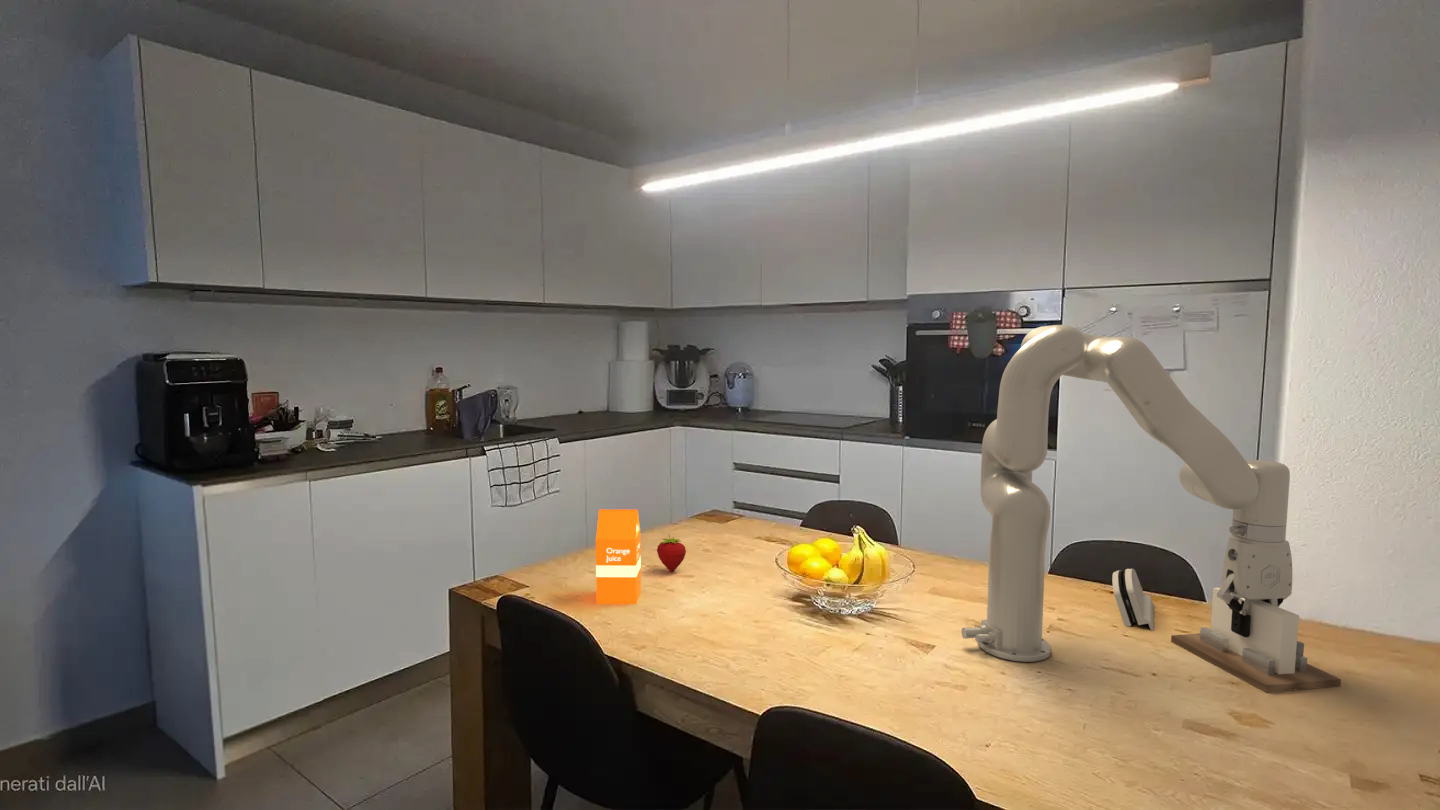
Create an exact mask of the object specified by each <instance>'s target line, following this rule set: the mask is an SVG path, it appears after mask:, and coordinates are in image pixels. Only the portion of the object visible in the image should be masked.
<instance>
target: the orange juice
mask: <svg viewBox="0 0 1440 810" xmlns="http://www.w3.org/2000/svg"><path fill="white" fill-rule="evenodd" d="M596 527H597V528H596V537H595V577H596V579H595V580H596V582H595V583H596V605H637V604H638V601H639V598H640V595H641V593H642V573H641V572H642V565H641V564H642V559H641V558H642V557H641V551H642V550H641V526H640V517H639V510H638V509H598V519H597V526H596Z"/></svg>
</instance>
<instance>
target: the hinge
mask: <svg viewBox="0 0 1440 810" xmlns="http://www.w3.org/2000/svg"><path fill="white" fill-rule="evenodd" d="M1111 579H1112V583H1111V584H1112V591H1113V595H1114V598H1115V601H1116V605H1117V608H1118V611H1119V613H1120V616H1121V619H1122V622H1123V625H1124V627H1132V625H1134V624H1136V625H1138V626H1141V625H1147V624H1148V626H1149V629H1150V631H1155V618H1154V617H1155V616H1154V615H1155V614H1154V613H1155V612H1154V609H1155V607H1154V606H1155V605H1154V602H1153V599H1152V597H1151V595H1148V594H1145V593H1144V591H1143V588H1142V585H1141V582H1140V580H1139V578H1138V575H1137V572H1136V570H1135V569H1134V568H1126V569H1125V570H1121V569H1118V570H1116V571H1113V573H1112V578H1111Z"/></svg>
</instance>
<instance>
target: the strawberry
mask: <svg viewBox="0 0 1440 810" xmlns="http://www.w3.org/2000/svg"><path fill="white" fill-rule="evenodd" d="M668 537H669V538H663V541H660V542H659V544H658V545H657V548H656V552H657V556H658V558H659V560H660V561H661V563H662V564H663V565H664V566H665V567H666V569H667V571H669V572H670V571H671V573H673V572H675V571H676V569H677V568H678V567H679V566H680V565H681V563H682V562H683V561H684V559H685V557H686V553H687V550H686V546H685V545H684V544H683V543H681V539H680V538H675V537H670V535H668Z"/></svg>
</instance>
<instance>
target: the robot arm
mask: <svg viewBox="0 0 1440 810" xmlns="http://www.w3.org/2000/svg"><path fill="white" fill-rule="evenodd" d="M1062 376H1067V377H1072V378H1075V379H1076V378H1077V379H1083V380H1089V381H1095V382H1103V383H1107V384H1108V385H1109V387H1110V388H1111V389H1112V391H1113V392H1114V393H1115V395H1116V396H1117V397H1118V398H1119V399H1120V401H1121V403H1122V404H1123V405H1124V406H1125V408H1126V409H1127V410H1128V412H1129V413H1130V415H1131V416H1132V417H1133V418H1134V420H1135V422H1136V423H1137V424H1138V425H1139V427H1140V429H1142V430H1143V431H1144V432H1146V433H1147V435H1149V436H1150V437H1152V438H1153V439H1154V440H1156V441H1158V442H1159V443H1160V444H1162V445H1164V446H1166V447H1167V448H1168V449H1169V450H1171V451H1172V452H1173V453H1174V454H1176V455H1177V456H1178V457H1179V458H1180V459H1181V460H1182V461H1183V462H1184V464H1183V465H1182V467H1181V469H1180V470H1179V476H1178V477H1179V478H1178V479H1179V482H1180V484H1181V486H1182V487H1183V489H1184V490H1185V491H1186V492H1188V493H1189V494H1190V495H1192V496H1194V497H1195V498H1199V499H1200V500H1202V501H1205V502H1209V503H1211V504H1213V505H1216V506H1217V507H1221V509H1222V508H1223V509H1225V510H1226V509H1227V510H1232V520H1231V521H1232V522H1231V526H1229V529H1228V530H1229V533H1230V534H1231V537H1229V539H1228V541H1227V545H1226V548H1225V553H1224V558H1223V564H1222V572H1221V573H1222V575H1221V586H1220V587H1221V588H1220V589H1219V591H1218V593H1217V597H1218V598H1220V599H1221V600H1223V601H1225V603H1226V604H1227V605H1228V606H1229V609H1230V610H1232V620H1231V631H1232V632H1234V633H1236V634H1239V635H1241V636H1243V637H1249V636H1250V622H1251V617H1250V615H1248V614H1247V613H1248V610H1249V606H1250V601H1251V600H1262V601H1264V602H1267V603H1269V604H1272V605H1274V606H1277V607H1279V608H1280V606H1281V605H1282V603H1283V602H1284V601H1285V600H1286V599H1288V597H1290V596H1291V595H1292V592H1293V558H1292V557H1293V556H1292V552H1291V551H1292V550H1291V546H1290V542H1289V541H1288V540H1286V539H1287V525H1288V524H1287V523H1288V521H1287V520H1288V510H1289V509H1288V507H1289V496H1290V495H1289V494H1290V481H1291V479H1290V477H1291V472H1290V468H1289V467H1288V466H1287V465H1286V464H1284V463H1281V462H1277V461H1273V460H1262V459H1245V458H1244V457H1243V455H1242V453H1241V452H1240V451H1239V450H1238V448H1236V446H1235V445H1234V444H1233V442H1232V441H1231V440H1230V439H1229V438H1228V437H1227V436H1226V435H1225V434H1224V433H1223V432H1222V431H1221V430H1220V429H1219V428H1218V427H1216V425H1214V424H1213V423H1212V422H1211V421H1210V420H1209V419H1208V418H1207V417H1206V416H1205V415H1204V414H1203V413H1202V412H1201V411H1200V410H1199V409H1198V408H1196V407H1195V406H1194V405H1193V404H1192V403H1191V402H1190V401H1189V399H1188V398H1187V397H1186V396H1185V395H1184V393H1183V392H1182V391H1181V389H1180V388H1179V386H1178V385H1177V384H1176V383H1175V381H1174V380H1173V379H1172V377H1171V376H1170V375H1169V373H1168V372H1167V371H1166V369H1165V367H1163V365H1162V364H1161V363H1160V361H1159V360H1158V359H1157V357H1156V356H1155V354H1154V353H1153V352H1152V350H1151V349H1150V347H1148V346H1147V345H1146V343H1144V342H1143V341H1141V340H1140V339H1138V338H1135V337H1133V336H1132V337H1131V336H1106V335H1104V336H1103V335H1096V334H1090V333H1089V334H1088V333H1083V332H1081V331H1080V330H1079V329H1077V328H1075V327H1074V326H1071V325H1066V324H1053V325H1045V326H1039V327H1036V328H1034V329H1031V330H1030V331H1029V332H1028V333H1026V335H1025V336H1024V338H1023V339H1022V342H1021V344H1020V348H1019V349H1018V350H1017V351H1016V352H1015V353H1014V355H1013V356H1012V357H1011V358H1010V360H1009V362H1008V363H1007V365H1006V367H1005V368H1004V371H1003V373H1002V376H1001V380H1000V384H999V393H998V400H997V401H998V402H997V403H998V404H997V412H996V413H997V415H996V419H994V420H993V421H991V423H990V424H989V425H988V426H987V427H986V430H985V432H984V434H983V438H982V443H981V444H982V446H981V460H980V461H981V463H980V464H981V465H980V467H981V468H980V496H981V498H980V499H981V502H982V505H983V506H984V508H985V509H986V510H987V512H988V513H989V515H991V520H992V521H991V530H990V535H989V536H990V537H989V545H988V575H987V578H988V579H987V607H986V611H987V612H986V619H981V621H980V622H981V623H980V624H979V625H977V626H976V627H972V626H971V627H962V628H961V636H962V638H963V639H974V640H975V643H977V645H978V646H979V648H980V649H982V650H983V651H985V652H986V653H987V654H990V655H992V656H993V657H997V658H1000V659H1004V660H1008V661H1014V662H1023V663H1031V662H1039V661H1043V660H1046V659H1048V658H1049V657H1050V655H1051V652H1052V647H1051V646H1052V645H1050V643H1049V642H1048V641H1047V640H1046V639H1044V638H1043V619H1044V617H1043V615H1044V596H1045V595H1044V594H1045V593H1044V592H1045V591H1044V590H1045V563H1046V549H1047V548H1046V546H1047V539H1048V538H1047V537H1048V533H1049V528H1050V522H1051V521H1050V520H1051V506H1050V503H1049V500H1048V498H1047V496H1046V494H1045V493H1044V491H1043V490H1042V489H1041V488H1040V487H1039V486H1038V485H1036V484H1035V483H1033V471H1035V470H1037V469H1039V468H1040V467H1041V466H1042V465H1043V463H1044V461H1045V460H1046V459H1047V454H1048V442H1049V441H1048V439H1049V438H1048V437H1049V436H1048V434H1049V430H1048V428H1049V409H1050V402H1051V394H1052V391H1053V388H1054V386H1055V385H1056V383H1057V381H1058V380H1059V379H1060V378H1061V377H1062ZM1231 593H1232V594H1231ZM1239 598H1240V599H1242V602H1241V604H1240V603H1239V602H1238V601H1239Z"/></svg>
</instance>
